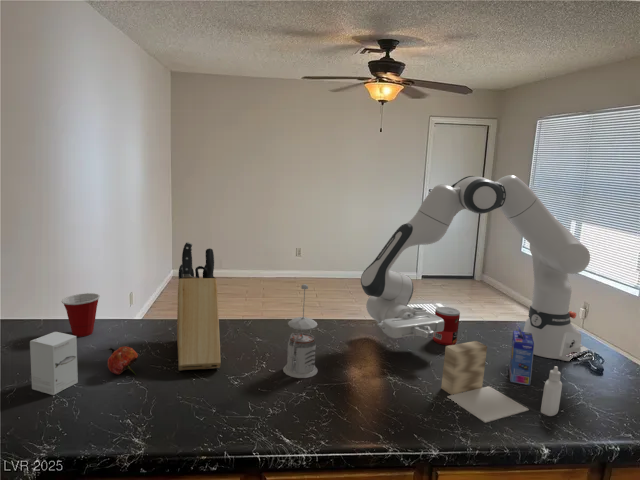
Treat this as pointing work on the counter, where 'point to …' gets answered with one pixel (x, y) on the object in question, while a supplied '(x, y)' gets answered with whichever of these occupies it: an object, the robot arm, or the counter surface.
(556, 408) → the eye dropper bottle
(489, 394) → the mat
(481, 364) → the block
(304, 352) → the french press
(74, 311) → the plastic cup
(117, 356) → the red rounded lump
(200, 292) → the knife block
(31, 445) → the counter surface
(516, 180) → the robot arm
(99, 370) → the counter surface
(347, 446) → the counter surface
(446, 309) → the canned food
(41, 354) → the supplement box
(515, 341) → the ink cartridge box
